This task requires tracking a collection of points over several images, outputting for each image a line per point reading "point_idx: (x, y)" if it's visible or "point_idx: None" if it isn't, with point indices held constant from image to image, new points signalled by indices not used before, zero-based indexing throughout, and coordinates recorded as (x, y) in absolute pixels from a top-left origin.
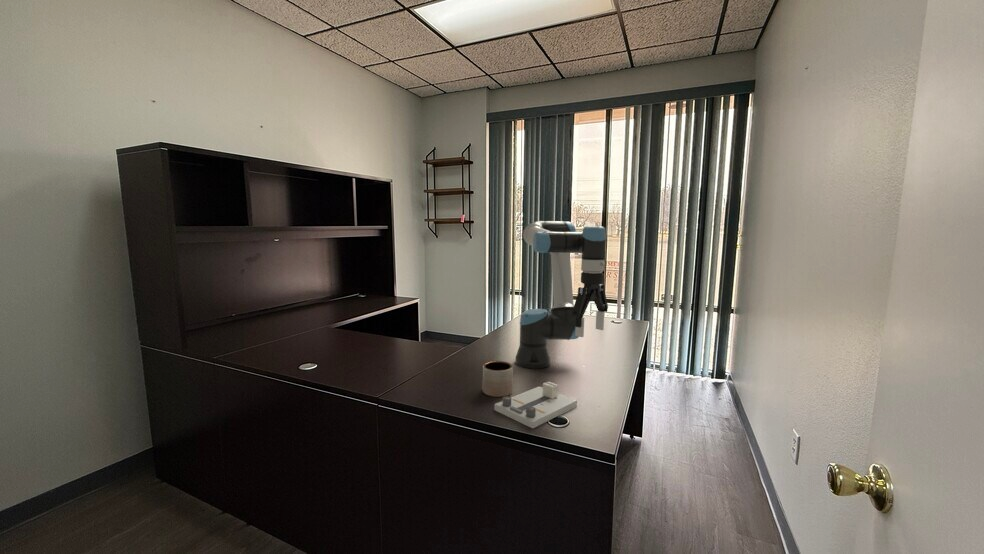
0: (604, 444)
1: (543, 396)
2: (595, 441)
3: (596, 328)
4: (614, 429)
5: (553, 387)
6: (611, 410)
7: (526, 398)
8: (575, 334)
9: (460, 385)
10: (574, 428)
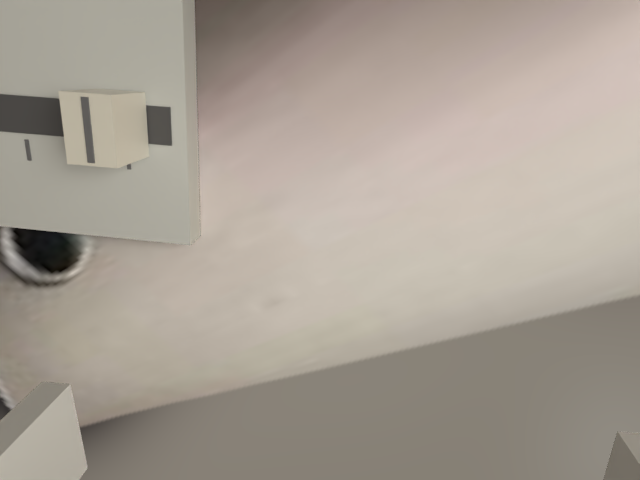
0: None
1: None
2: None
3: (620, 449)
4: (152, 406)
5: (81, 163)
6: (275, 351)
7: (10, 46)
8: (31, 393)
9: None
10: (50, 313)
